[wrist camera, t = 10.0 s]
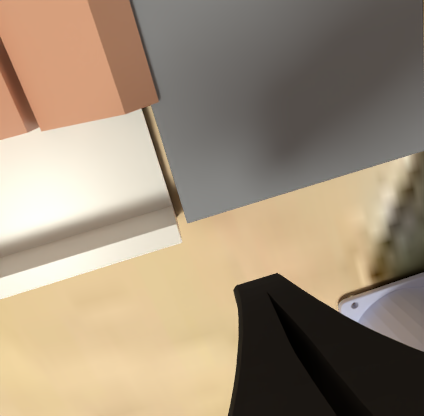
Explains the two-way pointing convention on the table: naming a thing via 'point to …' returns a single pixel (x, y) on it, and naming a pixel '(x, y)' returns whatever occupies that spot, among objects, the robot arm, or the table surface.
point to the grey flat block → (280, 92)
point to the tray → (80, 201)
